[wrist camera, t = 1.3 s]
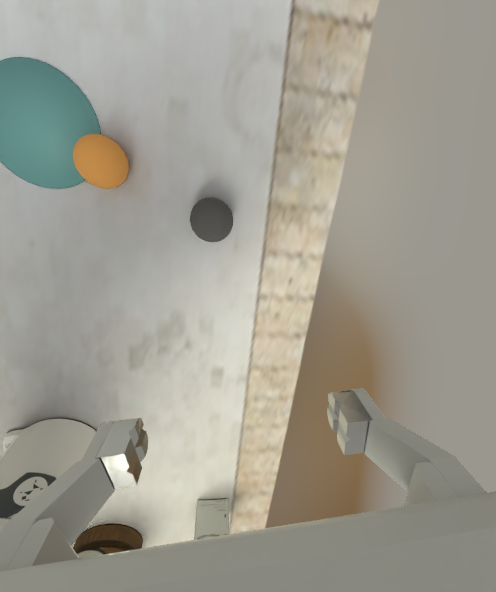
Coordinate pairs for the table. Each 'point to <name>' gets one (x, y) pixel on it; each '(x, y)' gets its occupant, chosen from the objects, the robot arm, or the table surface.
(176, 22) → the table surface
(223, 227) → the black ball
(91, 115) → the teal flat disc
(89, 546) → the wooden container
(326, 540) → the robot arm
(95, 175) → the orange ball
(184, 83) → the table surface
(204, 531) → the supplement box
